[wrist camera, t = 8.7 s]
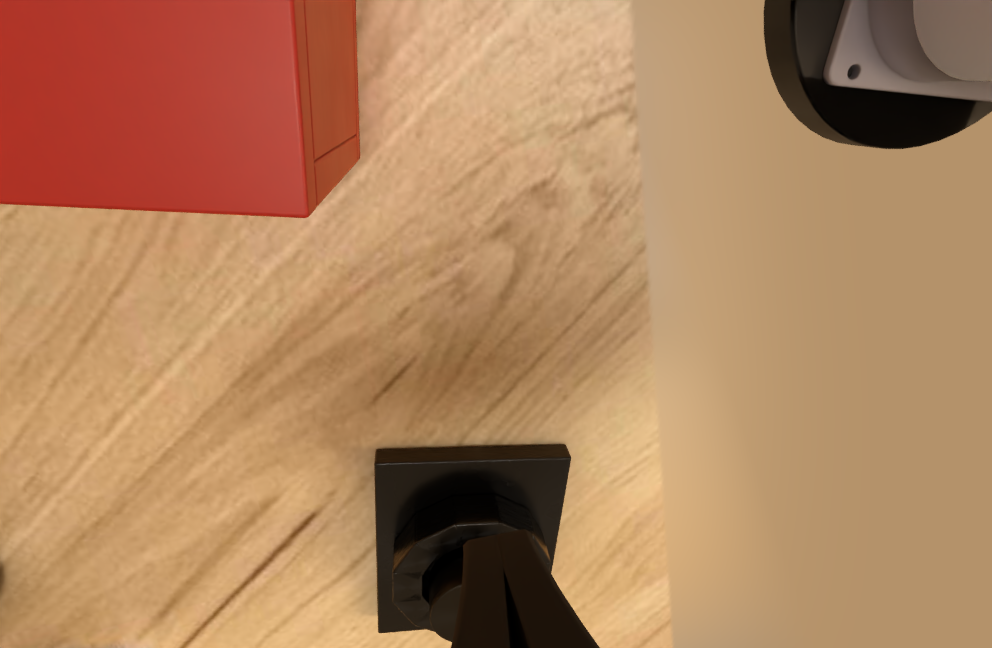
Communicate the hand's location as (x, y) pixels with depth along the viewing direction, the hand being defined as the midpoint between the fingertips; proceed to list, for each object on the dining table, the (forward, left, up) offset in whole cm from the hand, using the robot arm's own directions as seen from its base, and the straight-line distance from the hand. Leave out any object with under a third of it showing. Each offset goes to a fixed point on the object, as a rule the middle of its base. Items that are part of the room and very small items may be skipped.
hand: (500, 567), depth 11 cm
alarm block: (-1, +9, -10) cm, 13 cm away
